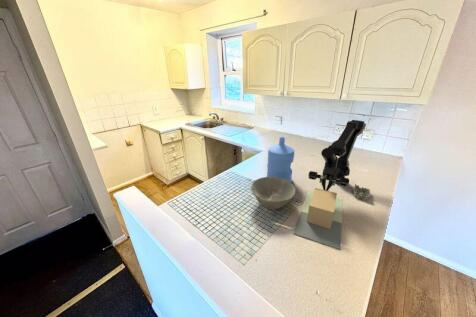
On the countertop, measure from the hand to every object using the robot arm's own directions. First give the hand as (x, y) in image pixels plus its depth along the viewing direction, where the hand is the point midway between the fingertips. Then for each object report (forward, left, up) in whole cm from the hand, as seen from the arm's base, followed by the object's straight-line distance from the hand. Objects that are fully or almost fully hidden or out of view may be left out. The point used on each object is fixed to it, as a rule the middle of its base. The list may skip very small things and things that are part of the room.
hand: (324, 194), depth 97 cm
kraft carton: (+8, 0, -6) cm, 10 cm away
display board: (+8, 0, -7) cm, 10 cm away
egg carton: (-19, +18, -7) cm, 27 cm away
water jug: (-16, -28, -7) cm, 33 cm away
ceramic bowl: (+10, -24, -7) cm, 27 cm away
